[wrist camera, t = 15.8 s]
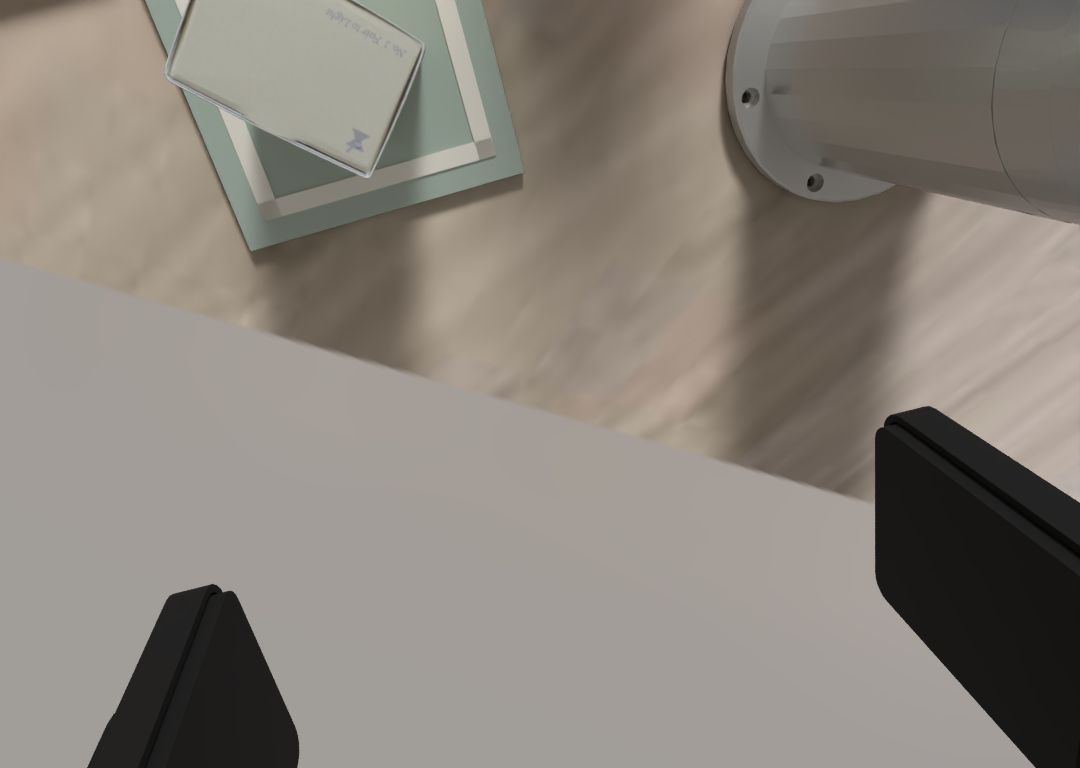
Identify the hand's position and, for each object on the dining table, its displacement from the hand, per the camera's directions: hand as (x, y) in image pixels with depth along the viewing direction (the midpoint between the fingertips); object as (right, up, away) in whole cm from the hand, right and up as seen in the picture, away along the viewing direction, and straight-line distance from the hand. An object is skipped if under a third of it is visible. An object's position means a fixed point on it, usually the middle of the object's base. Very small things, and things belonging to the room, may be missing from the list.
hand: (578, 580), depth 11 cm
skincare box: (-9, +16, +21) cm, 28 cm away
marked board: (-9, +17, +22) cm, 29 cm away
